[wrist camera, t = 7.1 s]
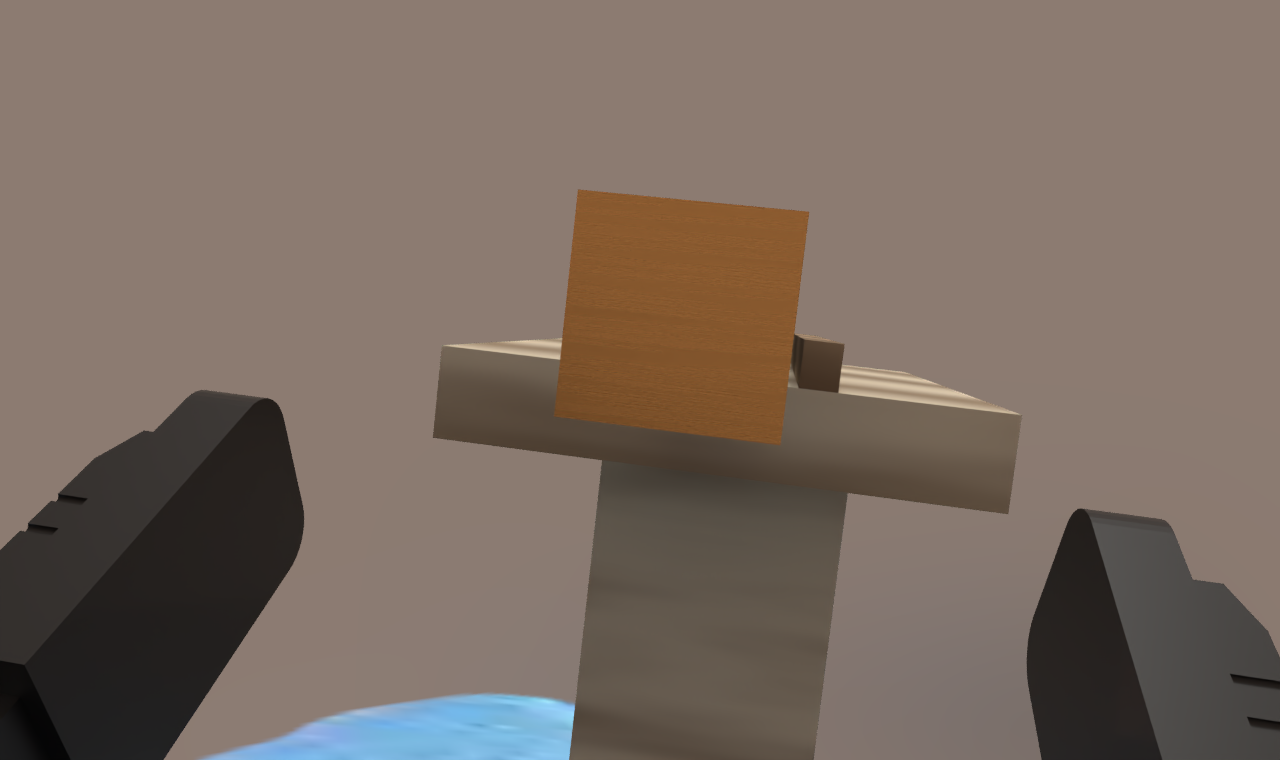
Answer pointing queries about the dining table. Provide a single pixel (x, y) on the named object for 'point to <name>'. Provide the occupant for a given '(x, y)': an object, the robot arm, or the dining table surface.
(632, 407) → the bar
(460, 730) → the dining table surface
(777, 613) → the stand
